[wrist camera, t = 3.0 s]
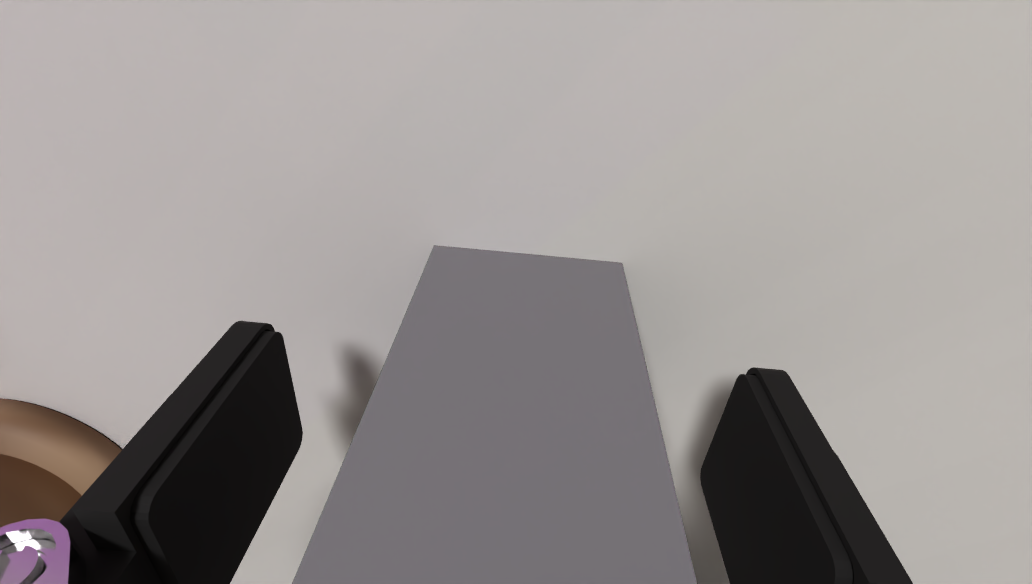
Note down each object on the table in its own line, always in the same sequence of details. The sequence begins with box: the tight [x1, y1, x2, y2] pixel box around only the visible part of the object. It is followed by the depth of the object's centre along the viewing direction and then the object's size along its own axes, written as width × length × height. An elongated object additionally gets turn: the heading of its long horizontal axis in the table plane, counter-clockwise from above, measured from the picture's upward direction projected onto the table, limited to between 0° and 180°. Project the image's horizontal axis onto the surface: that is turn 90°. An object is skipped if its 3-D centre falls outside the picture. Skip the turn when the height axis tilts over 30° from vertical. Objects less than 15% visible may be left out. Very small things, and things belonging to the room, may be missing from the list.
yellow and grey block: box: [292, 245, 697, 584], centre depth 9 cm, size 4×4×8 cm
